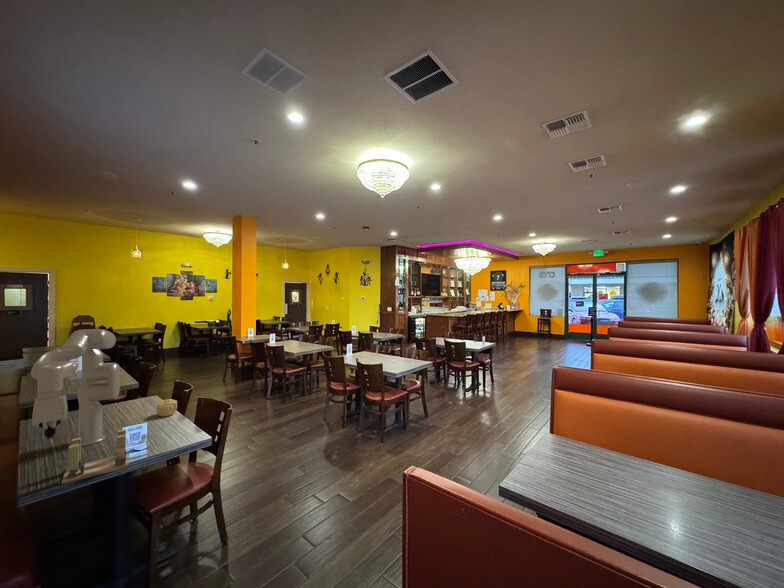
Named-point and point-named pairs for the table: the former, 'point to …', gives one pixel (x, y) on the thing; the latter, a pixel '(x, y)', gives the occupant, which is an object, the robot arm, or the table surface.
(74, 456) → the hinged leg
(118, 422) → the table surface
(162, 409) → the beige rounded lump
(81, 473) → the stool seat
